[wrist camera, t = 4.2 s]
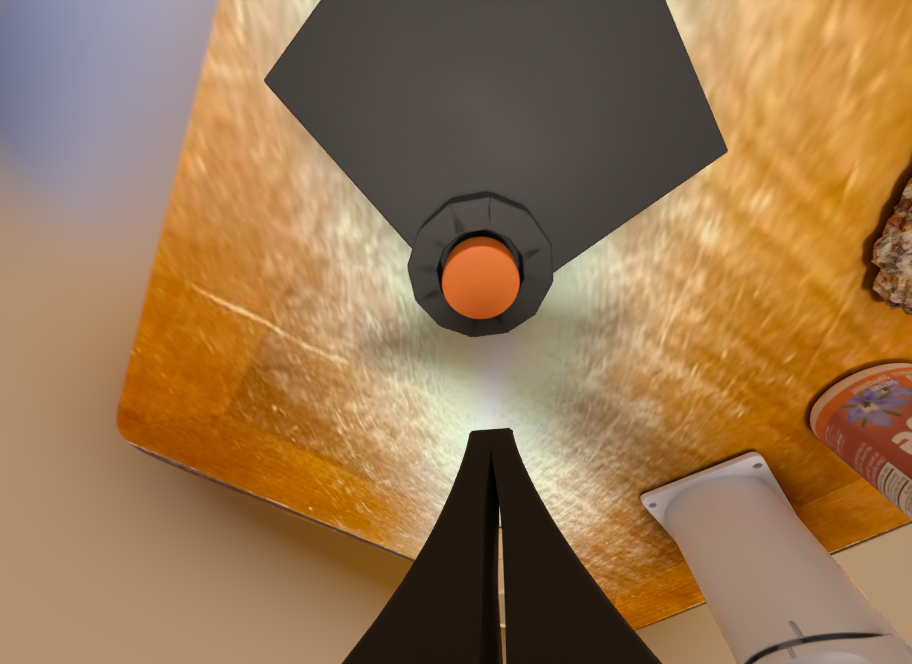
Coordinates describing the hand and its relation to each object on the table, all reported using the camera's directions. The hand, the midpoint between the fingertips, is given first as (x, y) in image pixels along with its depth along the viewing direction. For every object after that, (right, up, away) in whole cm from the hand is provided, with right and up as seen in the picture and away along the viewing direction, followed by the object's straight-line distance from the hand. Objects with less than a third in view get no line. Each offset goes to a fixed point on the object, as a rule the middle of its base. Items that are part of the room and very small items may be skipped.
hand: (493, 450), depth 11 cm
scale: (0, +13, +2) cm, 13 cm away
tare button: (0, +7, +3) cm, 7 cm away
